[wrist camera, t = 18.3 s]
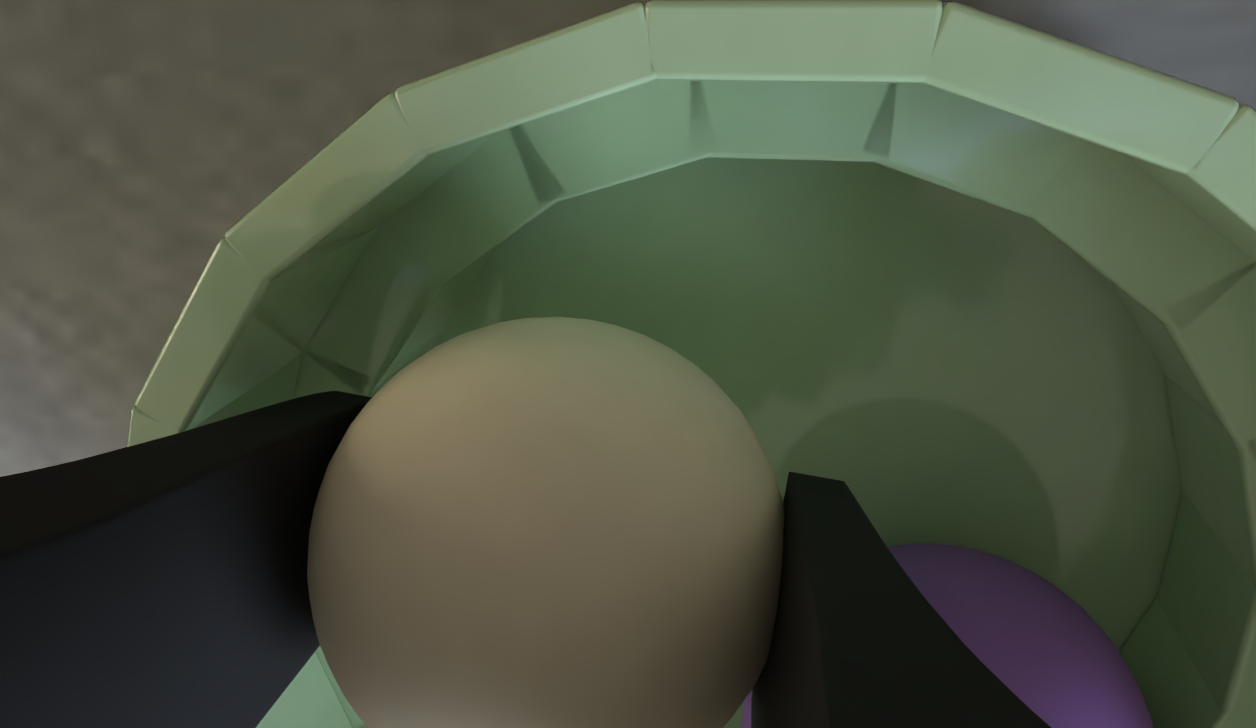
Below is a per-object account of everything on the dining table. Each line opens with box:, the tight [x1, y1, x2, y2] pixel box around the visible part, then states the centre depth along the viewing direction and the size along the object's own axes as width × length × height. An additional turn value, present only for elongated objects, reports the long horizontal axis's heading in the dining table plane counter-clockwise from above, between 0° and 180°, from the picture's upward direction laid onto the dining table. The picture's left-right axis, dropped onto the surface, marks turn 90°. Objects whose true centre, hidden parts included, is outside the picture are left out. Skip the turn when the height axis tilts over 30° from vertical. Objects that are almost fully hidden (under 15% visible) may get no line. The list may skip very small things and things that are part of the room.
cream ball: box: [307, 317, 785, 728], centre depth 10 cm, size 5×5×5 cm
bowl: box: [127, 0, 1256, 728], centre depth 12 cm, size 14×14×6 cm
